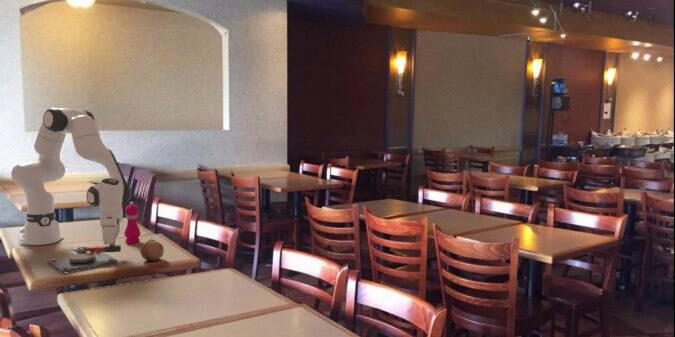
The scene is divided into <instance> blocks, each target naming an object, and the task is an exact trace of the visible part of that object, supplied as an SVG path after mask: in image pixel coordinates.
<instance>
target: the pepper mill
mask: <svg viewBox="0 0 675 337" xmlns="http://www.w3.org/2000/svg"><path fill="white" fill-rule="evenodd" d="M124 212H125V214H126V217H125V218H126V219H127V223H126V228H125V229H124V234H123V235H124V237H125V238H126V239H125V244H126V245H135V244H138V243H140V241H141V240H140V238H139V237H140V236H141V229H140V228H139V225H138V223H137V222H138V221H137V220H138V213H139V207H138V206H137V205H135V204H134V201H129V205H127V206H125V209H124Z"/></svg>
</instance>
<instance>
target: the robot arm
mask: <svg viewBox="0 0 675 337" xmlns="http://www.w3.org/2000/svg"><path fill="white" fill-rule="evenodd" d="M67 134H71V136H72V143H73V146H74V149H75V152H76V154H77V155H78V156H80V157H81V158H83V159H84V160H88V161H92V162H95V163H98V164H100V165H102V166H104V168H105V169H106V170H107V173H108V175H109V178H103V179H102V180H101V181H100V183H98V184H97V183H96V184H94V185H91V186H90V187H89V188H88V189H87V191H86V201H87V204H89V205H90V206H91V207H93V208H94V207H95V208H100V210H99V213H100V214H99V216H100V220H99V222H100V223H99V224H100V227H101V232H102V234H101V235H102V241H103V244H104V245H108V246H114V245H116V239H117V237H118V235H119V234H120V231H121V228H120V223H122V222H124V221H123V220H124V217H123V216H124V212H123V210H124V209H123V206H124V205H127V203H128V202H130V200H131V199H132V196H133V194H132V193H133V192H132V188H131V187H130V185H129V183H128V182H127V181H126V178H125V177H124V174H123V172H122V170H121V169H122V168H121V167H120V165H119V163H118V160H117V158H116V156H115V155H114V153H113V151H112V150H111V149H109V148H108V147H107V146H106V145H105V144H104V143H103V141H102V139H101V136H100V132H99V129H98V126H97V125H96V120H95V117H94V115H93V113H92V112H91V111H89V110H85V109H78V108H71V107H68V108H66V107H64V108H63V107H61V108H58V107H50V108H47V110H45V112H44V113H43V116H42V123H41V125H40V127H39V130H38V133H37V136H36V139H35V141H34V144H33V149H34V151H35V153H37V154H38V155H39V156H38V159H36V160H31V161H30V160H29V161H25V162H22V163H18V164H16V165H14V166H13V167H12V170H11V173H10V174H11V175H10V176H11V180H13V183H15V184H16V185H18V187H20V188H21V189H22V191H23V193H24V195H25V198H26V208H27V213H26V222H25V224H24V225H23V228H20V230H19V234H20V236H18V241H19V244H20V245H21V246H22V245H23V246H26V245H27V246H41V245H42V246H43V245H49V244H54V243H57V242H59V241H60V240H64V239H65V238H64V236H63V235H61V230H60V224H59V222H58V221H57V220H56V217H57V216H56V211H55V204H54V202H55V201H54V195H53V194H52V193H51V192H48V191H47V190H46V188H45V185H44V184H47V183H52V182H56V181H58V180H61V179H62V178H63V177H64V176H65V174H66V167H65V165H64V163H63V162H62V161H61V157H60V156H61V150H62V147H63V144H64V142H65V138H66V135H67Z"/></svg>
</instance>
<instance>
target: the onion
mask: <svg viewBox="0 0 675 337" xmlns="http://www.w3.org/2000/svg"><path fill="white" fill-rule="evenodd" d="M164 250H165V249H164V246H163V245H162V243H160V242H158V241H157V240H154V239H153V238H151V239H149V240H147V241H146V242H144V243H143V244H142V246H141V247H140V254H141V258H143V259H144V260H146V261H147V262H149V261H153V262H156V260H158V259H159V260H160V259H161V258H162V257H163V255H164V252H165V251H164ZM159 260H158V261H159Z"/></svg>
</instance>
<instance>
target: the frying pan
mask: <svg viewBox="0 0 675 337" xmlns="http://www.w3.org/2000/svg"><path fill="white" fill-rule="evenodd" d="M121 251H122V245H119V244H118V245H116V244H115V245H114V246H110V245H105V246H104V245H102V246H99V245H98V246H78V247H75V248H73V251H69V253H68V257H69V261H70V262H72V263H84V262H90V261H93V260H95V259H96V256H95V252H104V253H121Z"/></svg>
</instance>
